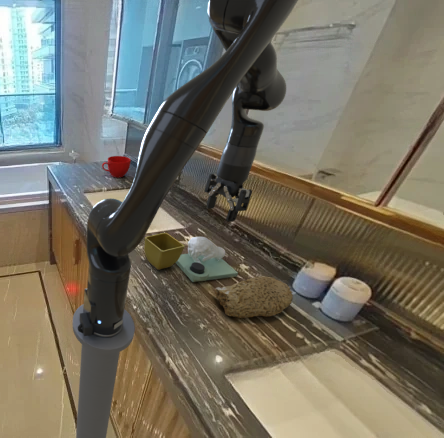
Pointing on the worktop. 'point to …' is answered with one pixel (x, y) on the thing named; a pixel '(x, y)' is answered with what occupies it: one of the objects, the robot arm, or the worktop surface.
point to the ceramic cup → (117, 165)
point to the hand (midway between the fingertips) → (219, 214)
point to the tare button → (197, 268)
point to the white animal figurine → (204, 249)
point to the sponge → (255, 297)
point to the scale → (206, 268)
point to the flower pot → (162, 250)
